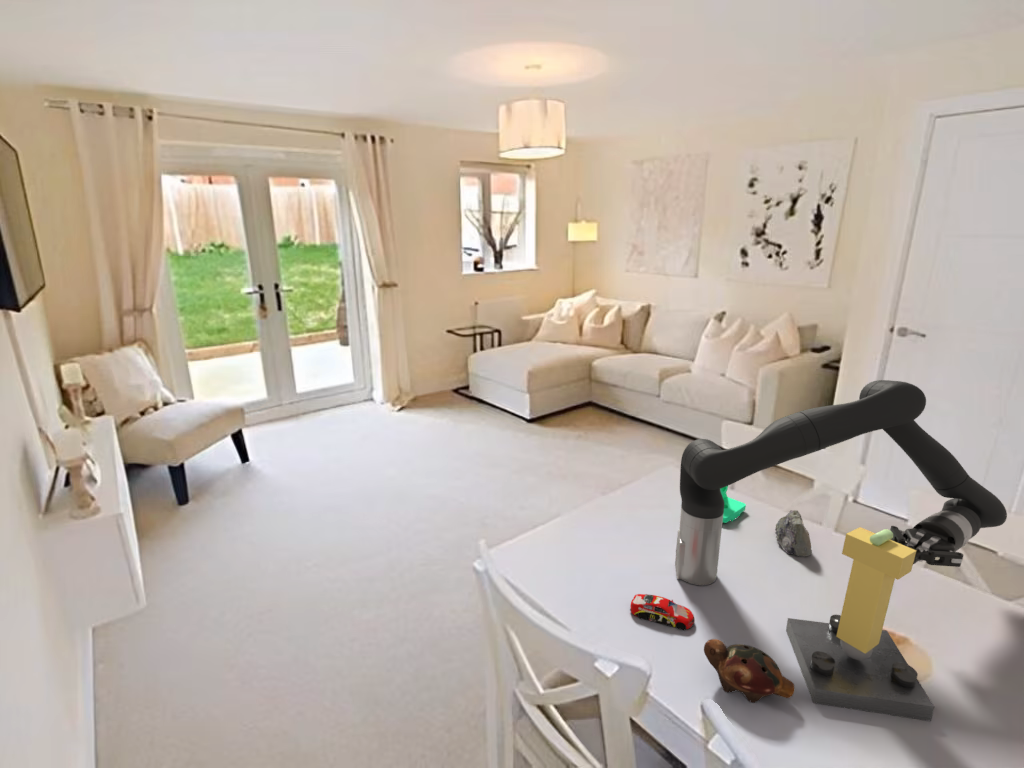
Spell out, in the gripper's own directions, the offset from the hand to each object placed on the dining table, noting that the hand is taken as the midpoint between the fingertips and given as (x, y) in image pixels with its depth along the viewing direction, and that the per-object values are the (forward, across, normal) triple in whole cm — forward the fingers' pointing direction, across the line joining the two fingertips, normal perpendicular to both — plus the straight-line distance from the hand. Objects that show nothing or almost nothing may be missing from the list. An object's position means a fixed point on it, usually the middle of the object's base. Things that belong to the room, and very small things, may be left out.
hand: (903, 559), depth 103 cm
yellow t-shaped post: (+14, 0, +16) cm, 21 cm away
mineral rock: (-18, -30, +19) cm, 40 cm away
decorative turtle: (+33, -8, +20) cm, 39 cm away
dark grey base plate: (+13, 0, +19) cm, 23 cm away
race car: (+31, -29, +20) cm, 47 cm away
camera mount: (-16, -49, +20) cm, 55 cm away
